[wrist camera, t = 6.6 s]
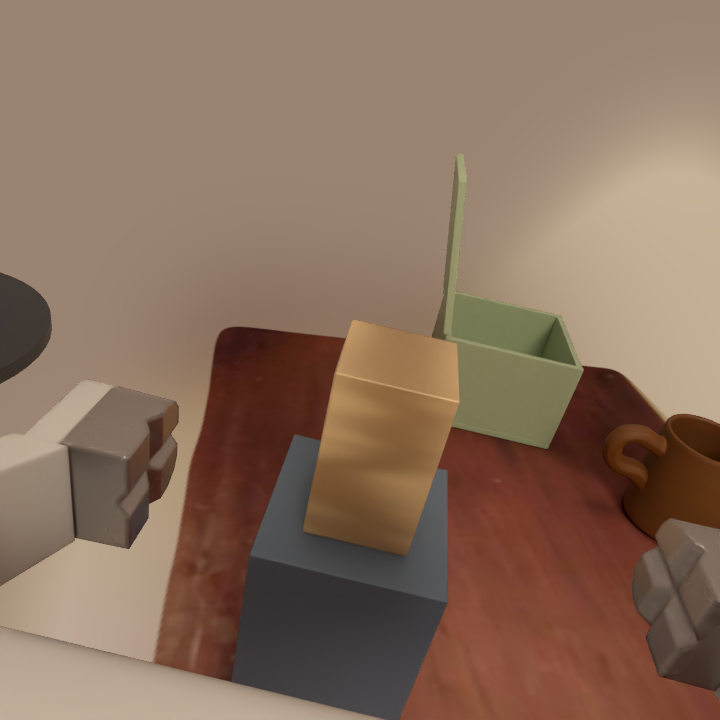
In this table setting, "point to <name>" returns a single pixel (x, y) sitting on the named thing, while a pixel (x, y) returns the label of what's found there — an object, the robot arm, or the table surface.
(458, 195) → the box lid
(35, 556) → the robot arm
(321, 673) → the block
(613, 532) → the table surface
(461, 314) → the box
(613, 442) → the mug
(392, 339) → the block
